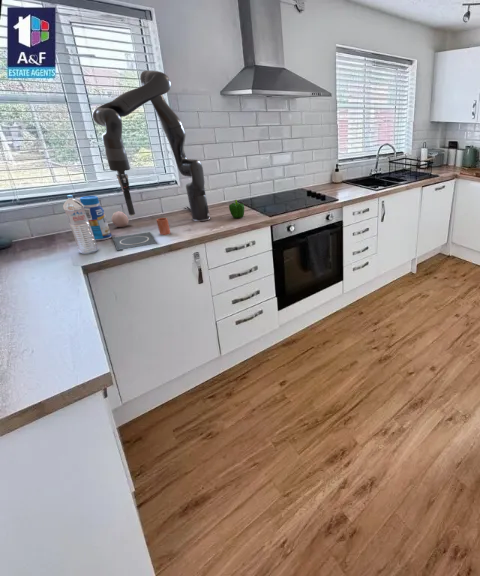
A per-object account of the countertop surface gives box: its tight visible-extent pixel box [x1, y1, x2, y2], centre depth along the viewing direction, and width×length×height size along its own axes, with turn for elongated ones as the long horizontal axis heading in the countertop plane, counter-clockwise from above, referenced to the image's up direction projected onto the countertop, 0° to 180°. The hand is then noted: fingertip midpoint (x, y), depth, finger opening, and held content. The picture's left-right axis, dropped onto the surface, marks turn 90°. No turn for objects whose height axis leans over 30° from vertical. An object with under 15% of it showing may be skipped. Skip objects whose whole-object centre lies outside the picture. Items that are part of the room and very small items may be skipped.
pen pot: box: [156, 217, 171, 236], centre depth 186 cm, size 5×5×8 cm
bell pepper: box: [228, 199, 245, 219], centre depth 217 cm, size 8×8×10 cm
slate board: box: [112, 231, 158, 252], centre depth 177 cm, size 20×16×1 cm
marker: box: [122, 191, 136, 217], centre depth 169 cm, size 2×2×13 cm
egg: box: [111, 211, 129, 228], centre depth 194 cm, size 7×7×8 cm
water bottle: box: [62, 194, 99, 255], centre depth 159 cm, size 7×7×25 cm
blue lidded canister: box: [79, 195, 113, 241], centre depth 176 cm, size 8×8×20 cm
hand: (127, 198), depth 169 cm, fingers closed on marker, 2 cm apart
